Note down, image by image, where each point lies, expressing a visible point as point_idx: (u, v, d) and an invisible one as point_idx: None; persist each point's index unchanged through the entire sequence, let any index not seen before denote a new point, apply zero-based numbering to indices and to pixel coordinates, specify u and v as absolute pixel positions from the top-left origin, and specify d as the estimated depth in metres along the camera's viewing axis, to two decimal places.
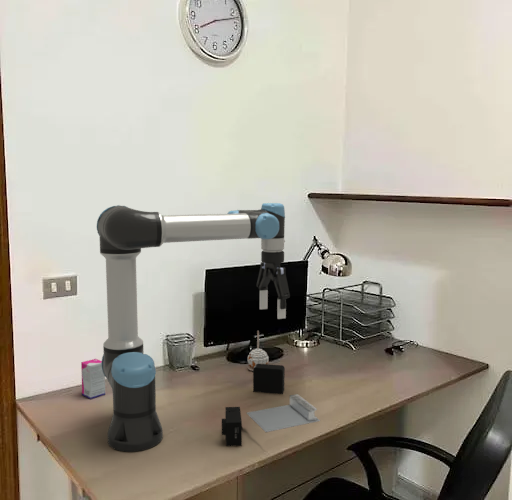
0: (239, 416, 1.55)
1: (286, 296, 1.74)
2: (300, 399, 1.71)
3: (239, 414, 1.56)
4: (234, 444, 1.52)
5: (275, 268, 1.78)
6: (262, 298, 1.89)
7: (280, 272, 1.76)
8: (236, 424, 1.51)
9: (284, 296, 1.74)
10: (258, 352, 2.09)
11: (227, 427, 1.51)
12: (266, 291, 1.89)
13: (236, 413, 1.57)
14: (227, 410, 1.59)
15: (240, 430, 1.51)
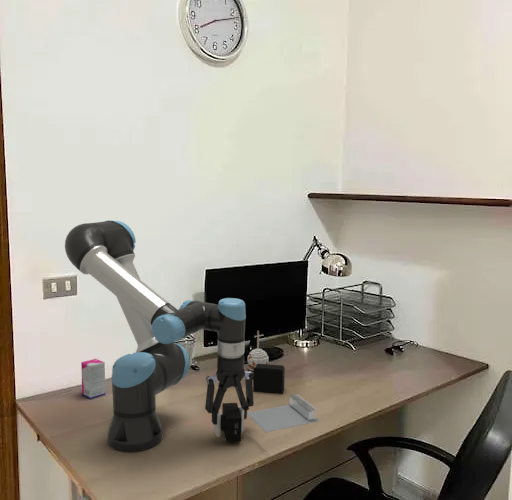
0: (238, 412, 1.55)
1: None
2: (300, 399, 1.71)
3: (238, 410, 1.56)
4: (234, 440, 1.52)
5: None
6: None
7: (207, 382, 1.53)
8: (236, 420, 1.51)
9: (205, 408, 1.54)
10: (258, 352, 2.09)
11: (227, 423, 1.51)
12: (241, 411, 1.57)
13: (235, 409, 1.57)
14: (225, 406, 1.59)
15: (240, 426, 1.52)
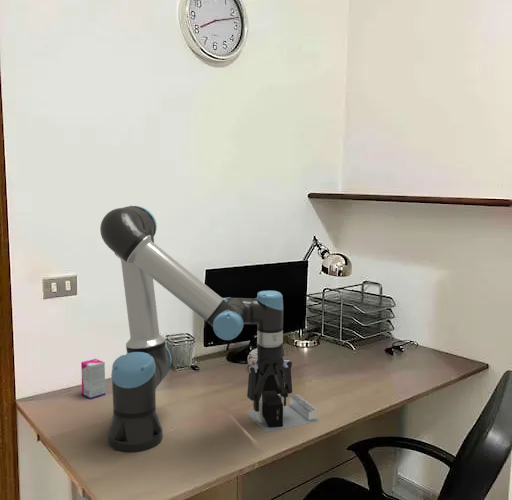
0: (278, 399, 1.63)
1: (249, 397, 1.61)
2: (300, 399, 1.71)
3: (278, 397, 1.64)
4: (276, 425, 1.60)
5: None
6: None
7: (249, 371, 1.61)
8: (277, 406, 1.59)
9: (248, 396, 1.62)
10: None
11: (269, 409, 1.59)
12: (280, 398, 1.65)
13: (275, 396, 1.65)
14: (265, 394, 1.66)
15: (281, 411, 1.60)
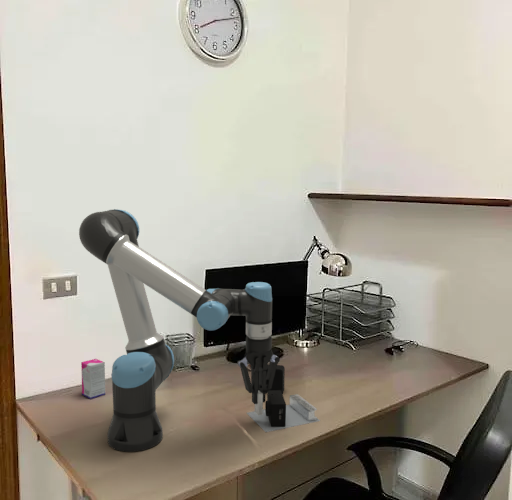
0: (282, 398, 1.63)
1: (247, 390, 1.61)
2: (300, 399, 1.71)
3: (282, 397, 1.64)
4: (278, 425, 1.60)
5: None
6: None
7: None
8: (280, 406, 1.59)
9: (246, 388, 1.61)
10: None
11: (272, 408, 1.59)
12: None
13: (279, 396, 1.65)
14: (270, 393, 1.67)
15: (284, 411, 1.60)
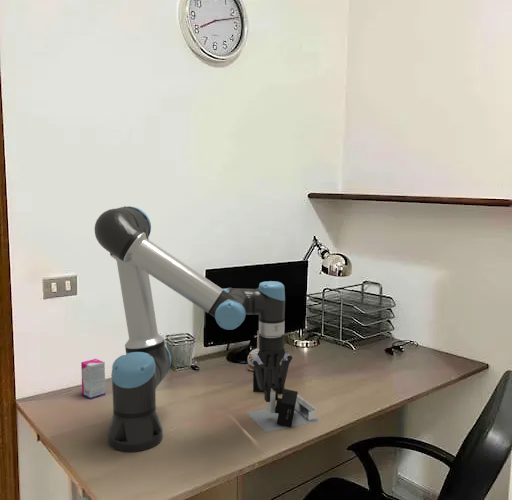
0: (294, 399, 1.62)
1: (260, 388, 1.62)
2: (300, 399, 1.71)
3: (295, 398, 1.64)
4: (284, 424, 1.60)
5: None
6: None
7: (252, 364, 1.61)
8: (289, 406, 1.59)
9: (259, 386, 1.63)
10: None
11: (280, 406, 1.60)
12: None
13: (292, 396, 1.64)
14: (285, 392, 1.67)
15: (292, 412, 1.59)
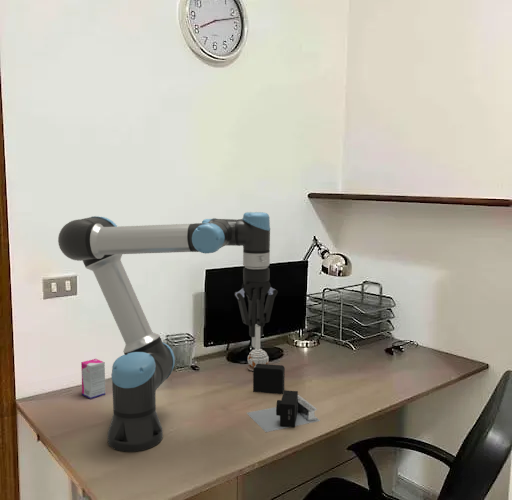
0: (294, 399, 1.63)
1: None
2: (300, 399, 1.71)
3: (295, 397, 1.64)
4: (287, 425, 1.60)
5: None
6: None
7: (236, 297, 1.56)
8: (289, 406, 1.59)
9: (243, 321, 1.58)
10: (258, 352, 2.09)
11: (281, 408, 1.60)
12: None
13: (292, 396, 1.64)
14: (284, 393, 1.67)
15: (293, 412, 1.59)
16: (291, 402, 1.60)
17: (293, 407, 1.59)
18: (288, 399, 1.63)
